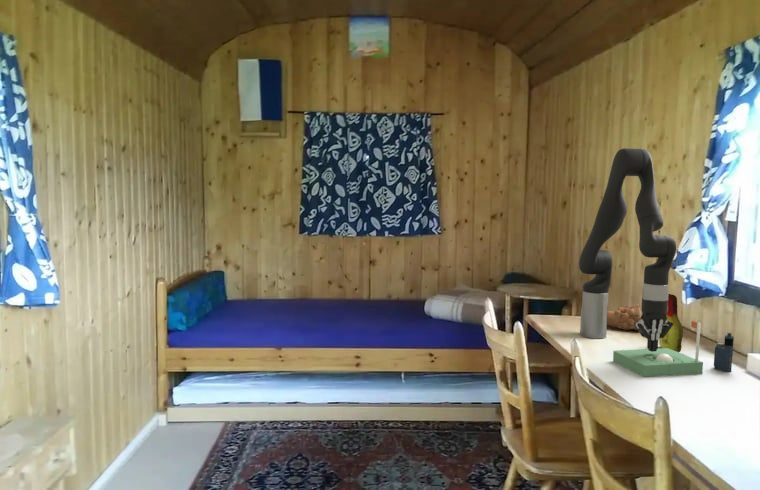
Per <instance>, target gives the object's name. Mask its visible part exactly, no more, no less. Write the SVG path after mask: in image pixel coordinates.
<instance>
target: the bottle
mask: <svg viewBox="0 0 760 490" xmlns="http://www.w3.org/2000/svg"><path fill="white" fill-rule="evenodd" d="M666 316H667V320H668V321H669V322H672V323H673V326H672V327H671V328H670V330H669V331H668V333H667V334H666V335H665V337H664V338H660V339H659V340H658V345H659V347H660V348H669V349H671V350H674V351H676V352H679V353H681V350H682V342H683V335H684V329H683V326H682V323H681V321H680V319H679V316H678V298H677V296H676V294H672V293H668V311H667V313H666Z"/></svg>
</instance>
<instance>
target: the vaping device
mask: <svg viewBox="0 0 760 490" xmlns="http://www.w3.org/2000/svg"><path fill="white" fill-rule="evenodd" d="M734 338H735V337H734V336H733V335H732V333H731V332H727V335H726V334H725V335H724V341H723V342H716V345H715V347H714V358H713V367H714V369H715V370H719V371H722V372H727V373H731V372H732V367H733V354H734Z"/></svg>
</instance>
